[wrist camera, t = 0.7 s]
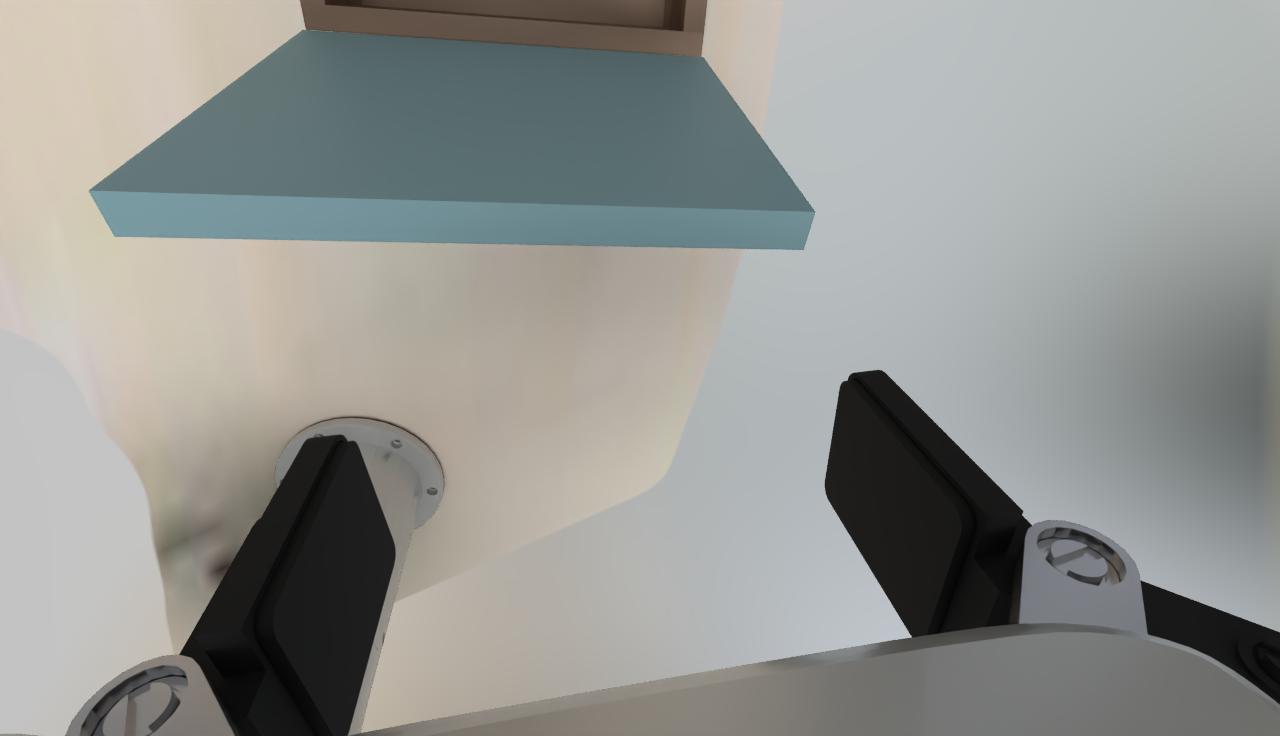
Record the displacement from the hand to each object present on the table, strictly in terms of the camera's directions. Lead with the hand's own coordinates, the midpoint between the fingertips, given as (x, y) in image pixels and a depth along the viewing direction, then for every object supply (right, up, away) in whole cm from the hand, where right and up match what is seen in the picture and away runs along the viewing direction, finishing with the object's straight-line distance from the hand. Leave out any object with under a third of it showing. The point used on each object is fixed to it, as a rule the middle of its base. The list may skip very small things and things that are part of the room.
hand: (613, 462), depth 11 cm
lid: (-4, +11, +9) cm, 15 cm away
